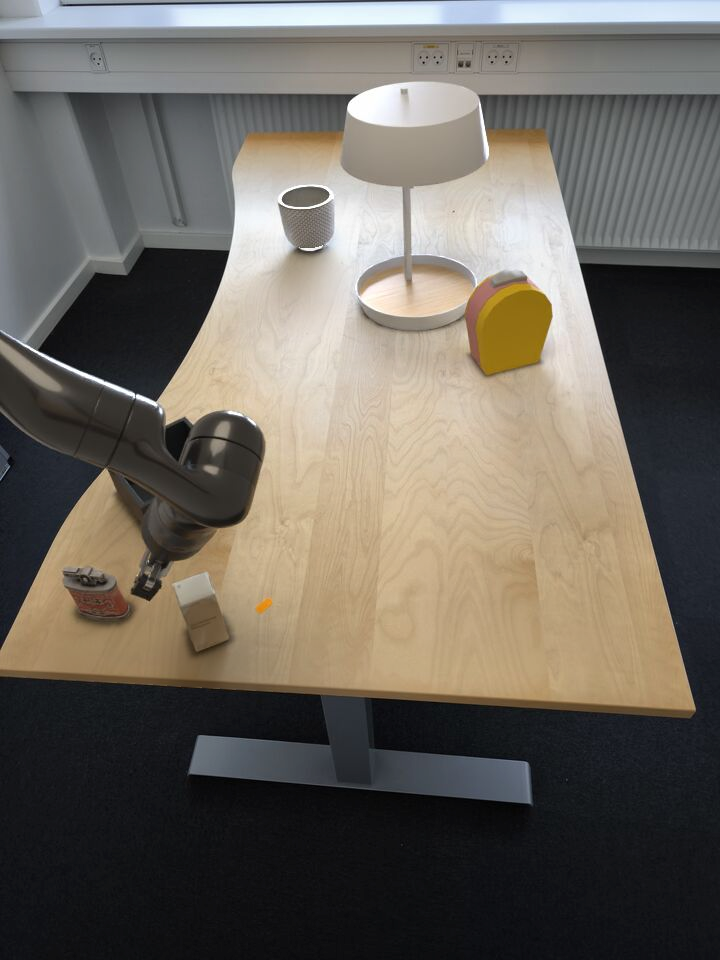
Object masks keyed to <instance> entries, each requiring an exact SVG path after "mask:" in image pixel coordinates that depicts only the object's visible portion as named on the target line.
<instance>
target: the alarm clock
mask: <svg viewBox="0 0 720 960" xmlns="http://www.w3.org/2000/svg"><path fill="white" fill-rule="evenodd" d="M552 304H553V303H552V302H551V301H550V300H549V298H548V296H547V295H546V294H545V293H544V292H543V291H542V290H541V289H540V288H539V287H538V286H537V285H536V284H535V283H534V282H533V281H532V280H531V279H530V278H529V276H528V275H526V273H524V272H523V270H520V269H512V268H511V269H510V268H509V269H504V270H500V271H498V272H497V273H494V274H492V275H489V276H487V277H486V278H485V279H484V280H483V281H482V282H480V283H479V284H477V287H476V288H475V290H474V291H473V293H472V294H471V296H470V297H469V299H468V301H467V305H466V309H465V314H464V318H465V320H464V321H465V325H466V331H467V337H468V345H469V351H470V356H471V357H472V358H473V360H474V361H475V363H477V365H478V366H479V368H480V369H481V370H482V371H483V373H484V374H485V375H486V376H490V375H494V374H499V373H501V372H506V371H510V370H513V369H518V368H522V367H525V366H529V365H533V364H537V363H539V362H540V360H541V355H542V353H543V350H544V347H545V344H546V340H547V337H548V333H549V330H550V326H551V324H552V320H553V305H552Z"/></svg>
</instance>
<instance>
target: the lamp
mask: <svg viewBox="0 0 720 960" xmlns="http://www.w3.org/2000/svg"><path fill="white" fill-rule="evenodd" d="M343 129H344V130H343V137H342V143H341V151H340V157H339V163H340V166H341V168H342V170H343V171H344V172H345V173H346V174H348V175H349V176H351V177H353V178H355V179H357V180H359V181H363V182H366V183H368V184H374V185H379V186H385V187H397V188H398V187H399V188H402V189H401V190H402V191H401V193H402V195H401V196H402V219H403V220H402V228H403V255H398V256H394V257H389V258H386V259H383V260H380V261H378V262H376V263H374V264H372V265H371V266H369V267H367V268H366V269H365V270H364V271H362V273H361V274H360V275H359V276H358V278H357V280H356V282H355V293H356V296H357V299H358V301H359V304H360V306H361V309H362V310H363V312H364V313H365V315H366V316H367V317H368V318H369V319H370V320H371V321H373V322H375V323H376V324H379V325H380V326H384V327H387V328H390V329H393V330H399V331H409V332H413V331H417V332H418V331H428V330H433V329H438V328H442V327H444V326H447V325H450V324H452V323H454V322H456V321H457V320H459V319H460V318H461V317H463V316H465V309H466V305H467V301H468V299H469V297H470V296H471V294H472V293H473V291H474V290H475V288H476V287H477V286H478V279H477V276H476V275H475V273H474V272H473V270H471V268H469V267H468V266H466V265H465V264H464V263H462V262H460V261H457V260H456V259H453V258H449V257H446V256H442V255H435V254H427V253H426V254H423V253H417V254H416V253H415V254H414V253H413V251H412V249H413V248H412V205H411V204H412V203H411V201H412V199H411V196H412V195H411V190H412V189H414V188H415V187H426V186H433V185H440V184H444V183H449V182H452V181H453V182H454V181H456V180H459V179H462V178H465V177H466V176H469V175H471V174H473V173H474V172H476V171H478V170H479V169H481V168H482V167H483V166H484V165H485V164H486V163H487V161H488V159H489V155H490V152H489V145H488V139H487V133H486V129H485V122H484V117H483V111H482V106H481V100H480V96H479V95H478V94H477V93H476V92H475V91H473V90H471V89H470V88H467V87H465V86H462V85H458V84H454V83H448V82H441V81H406V82H398V83H397V82H396V83H391V84H386V85H382V86H378V87H374V88H371V89H369V90H366V91H364V92H361V93H360V94H358V95H356V96H355V97H353V98H352V99H351V100H350V101H349V102H348V105H347V108H346V115H345V123H344V128H343Z"/></svg>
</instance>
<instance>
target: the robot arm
mask: <svg viewBox="0 0 720 960" xmlns="http://www.w3.org/2000/svg"><path fill="white" fill-rule="evenodd" d="M0 413H1V414H3V415H4V416H5V418H7V419H8V420H9V421H10V422H11V423H12V424H13V425H14V426H15V427H17V428H18V429H19V430H20V431H21V432H23V433H25V434H26V435H27V436H29V437H30V438H31V439H33V440H35V441H36V442H38V443H40V444H41V445H42V446H45V447H47V448H49V449H51V450H53V451H56V452H58V453H59V454H63V455H66V456H69V457H71V458H74V459H77V460H78V461H82V462H85V463H88V464H89V465H90V464H91V465H93V466H96V467H99V468H102V469H105V470H107V471H108V470H110V471H113V472H115V473H118V474H120V475H122V476H124V477H126V478H127V479H129V480H131V481H132V482H134V483H136V484H137V485H139V486H141V487H142V488H144V489H146V490H147V491H149V492H150V493H152V494H153V495H155V497H154V499H153V500H152V502H151V504H150V505H149V507H148V509H147V510H146V512H145V514H144V516H143V519H142V522H141V525H140V533H141V538H142V540H143V543H144V545H145V551H144V553H143V554H142V556H141V559H140V562H139V565H138V567H139V568H140V570H139V572H138V574H136V576H135V579H134V581H133V586H131V588H130V595H131V596H135V597H138V598H140V599H143V600H146V601H147V602H149V603H150V602H151V601H152V600H153V599H154V597H155V596H156V595H157V593H158V592H159V591H160V590H161V589H162V587H163V580H162V579H161V578H165V577H167V575H168V573H169V572H170V570H171V568H172V566H173V564H174V563H175V562H180V561H181V562H182V561H185V560H188V559H190V558H193V556H195V555H197V554H198V553H199V552H200V551H201V550H202V549H203V548H204V546H206V545H207V543H208V542H209V541H211V539H212V538H213V537H214V536H215V535H216V533H217V532H218V530H219V529H228V528H233V527H235V526H237V525H239V524H241V523H243V522H244V521H245V519H246V518H247V517H248V516H249V513H250V511H251V508H252V505H253V501H254V498H255V494H256V490H257V485H258V482H259V479H260V474H261V470H262V468H263V463H264V459H265V456H266V451H267V450H266V449H267V448H266V447H267V446H266V438H265V435H264V432H263V431H262V429H261V428H260V426H259V425H258V423H257V422H255V420H253V418H251V417H249V416H247V415H246V414H244V413H241V412H239V411H236V410H230V409H229V410H227V409H223V410H216V411H212V412H209V413H206V414H205V415H203V416H202V417H200V418H199V419H197V420H196V421H195V423H193V427H192V428H191V430H190V433H189V435H188V437H187V440H186V442H185V445H184V448H183V450H182V453H181V456H180V459H179V462H177V461H176V460H175V459H174V458H173V457H172V455H171V454H170V453H169V452H168V450H167V448H166V445H165V427H166V425H167V416H166V415H167V414H166V410H165V408H164V407H163V406H162V405H161V404H160V403H159V402H158V401H155V400H153V399H151V398H149V397H147V396H144V395H142V394H140V393H135V391H132V390H130V389H128V388H125V387H123V386H121V385H118V384H115V383H113V382H110V381H108V380H104V379H103V378H100V377H98V376H96V375H92V374H91V373H90V374H89V373H87V372H85V371H82V370H81V369H78V368H75V367H73V366H72V365H69V364H67V363H65V362H62V361H60V360H58V359H56V358H54V357H52V356H50V355H48V354H46V353H44V352H43V351H40V350H38V349H36V348H35V347H32V346H30V345H28V344H27V343H25V342H23V341H21V340H20V339H18V338H16V337H14V336H13V335H11V334H9V333H7V332H5V330H2V329H0ZM146 572H148V574H147V573H146Z"/></svg>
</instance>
